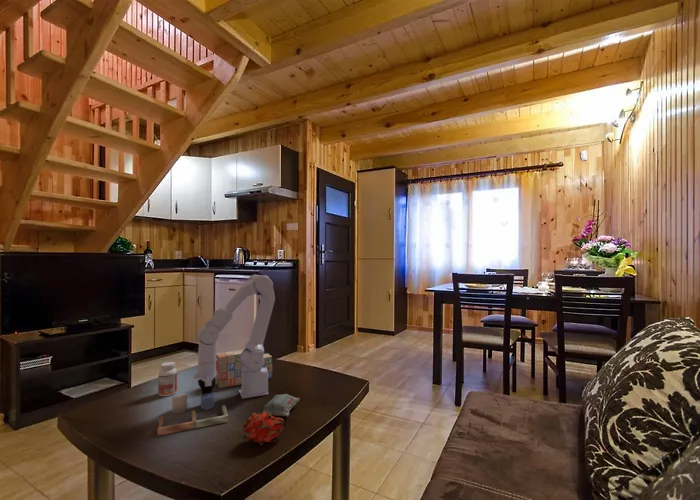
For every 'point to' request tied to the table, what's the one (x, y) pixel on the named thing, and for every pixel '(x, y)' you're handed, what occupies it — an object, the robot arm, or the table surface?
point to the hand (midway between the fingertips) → (206, 400)
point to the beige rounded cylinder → (179, 403)
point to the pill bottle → (167, 379)
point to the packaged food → (280, 405)
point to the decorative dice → (207, 401)
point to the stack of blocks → (235, 368)
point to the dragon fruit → (263, 427)
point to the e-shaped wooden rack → (192, 423)
